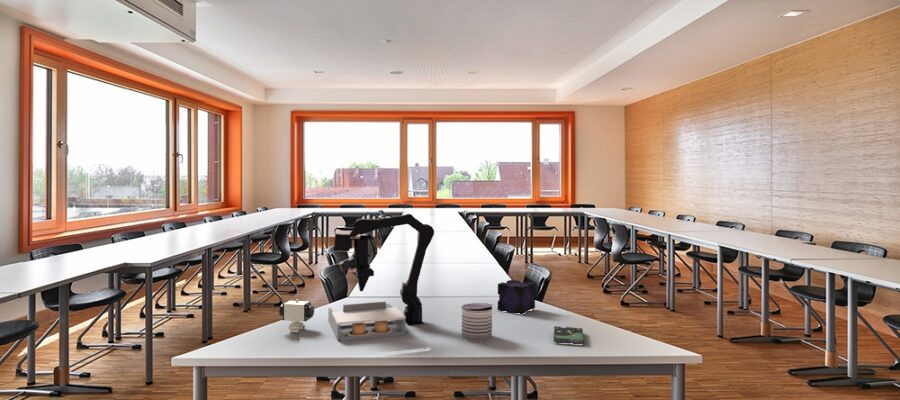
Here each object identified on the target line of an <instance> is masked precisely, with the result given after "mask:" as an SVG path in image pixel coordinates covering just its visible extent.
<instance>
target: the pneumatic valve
mask: <svg viewBox="0 0 900 400" xmlns="http://www.w3.org/2000/svg"><path fill="white" fill-rule="evenodd" d="M278 314H279V316H280V317H281V318H282V321H284V322H285V321H288V322H290V321H291V323H289V325H288V329H289V333H291V334H298V333H299V331H304V330H305V328H306V326H305V324H304V322H307V321H309V320H310V319H312V318H313V317H314V315H315V306H314V305H312V301H307V300H305V301H303V300H299V299H298V298H297V299H295V300H287V301H285V302H282V304H281V305H280V306H279V309H278Z"/></svg>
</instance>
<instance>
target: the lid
mask: <svg viewBox="0 0 900 400" xmlns="http://www.w3.org/2000/svg"><path fill="white" fill-rule="evenodd" d="M386 304H387V301H376V302H374V301H373V302H361V303H360V302H359V303H350V304H349V303H348V304H347V303H346V304H342V311H333V312H332V315H333V317H334V319H335V321H336V323H337V325H350V324H353V323H372V322H375V321H386V320H387V321H390V320H397V319H405V316H404V313H402V311H401V310H399V309H398V307H395V306H394V307H393V306H392V308H386Z"/></svg>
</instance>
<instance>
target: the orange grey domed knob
mask: <svg viewBox="0 0 900 400" xmlns="http://www.w3.org/2000/svg"><path fill="white" fill-rule="evenodd" d="M366 323H367V322H364V323H352V335H364V334H366Z"/></svg>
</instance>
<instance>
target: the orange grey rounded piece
mask: <svg viewBox="0 0 900 400" xmlns="http://www.w3.org/2000/svg"><path fill="white" fill-rule="evenodd" d="M388 321H389V320H386V321H375V330H374V332H375V333H386V332H388Z"/></svg>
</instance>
